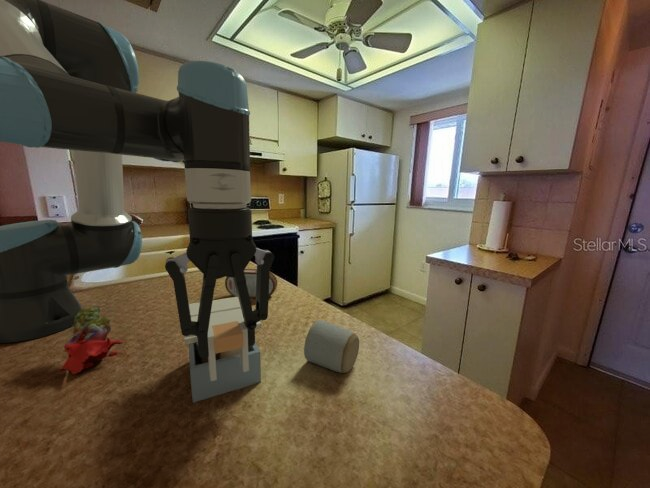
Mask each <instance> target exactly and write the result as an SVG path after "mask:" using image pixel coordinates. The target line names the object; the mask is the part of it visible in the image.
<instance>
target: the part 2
mask: <svg viewBox="0 0 650 488" xmlns="http://www.w3.org/2000/svg"><path fill="white" fill-rule="evenodd" d="M239 354H240V351H239V348H237V349H233V350H229V351H225V352H221V354H220V359H223V358H227V357H231V356H235V355H239Z"/></svg>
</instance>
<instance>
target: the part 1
mask: <svg viewBox="0 0 650 488" xmlns="http://www.w3.org/2000/svg"><path fill="white" fill-rule="evenodd" d="M220 354H221V352H220V353H216V354H215V359H216V360H219V359H220ZM197 355H198V364H203V363H207V362H208V357H204V358H201V357H200V356H199V349H198V343H197Z"/></svg>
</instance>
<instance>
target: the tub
mask: <svg viewBox="0 0 650 488" xmlns="http://www.w3.org/2000/svg"><path fill="white" fill-rule="evenodd" d="M197 343H198V342H195V343H190V344H188V353H189V355H188V356H189V375H190V383H191V384H190V385H191V386H190V387H191V397H192V403H193V404H194V403H197V402H201V401H203V400H208V399H210V398H213V397H217V396H220V395H223V394H226V393H229V392H233V391H236V390H240V389H242V388H246V387H250V386H252V385H256V384H259V383H261V382H262V368H261V366H262V365H261V363H262V362H261V351H260V348H259V346H258V344H257V342H256V341H255V344H254V346H249V347H248V359H249V371H246V372H243V369H242V366H241V363H240V354H239V355H235V356H231V357H227V358H223V359H219V360H216V376H217V380H214V381H211V380H210V373H209V363H208V362H207V363H203V364H198V355H197Z"/></svg>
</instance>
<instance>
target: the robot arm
mask: <svg viewBox="0 0 650 488" xmlns="http://www.w3.org/2000/svg"><path fill="white" fill-rule="evenodd" d="M177 72H178V75H177V85H176V91H177V93H178V96H177V97H175V98H173V99H169V100H166V99H161V98H157V97H153V96H149V95H145V94H142V93H137V92H138V90H139V86H138V85H139V84H140V71H139V64H138V60H137V57H136V53H135V50H134V48H133V47H132V45H131V43H130V41H129V40H128V38H127V37H126V36H125V35H123V34H122V33H121V32H120V31H118V30H115V29H113V28H111V27H109V26H106V25H105V24H103V23H102V22H100V21H95V20H93V19H90V18H88V17H85V16H82V15H80V14H78V13H75V12H72V11H69V10H67V9H64V8H61V7H59V6H57V5H53V4H51V3H49V2H46V1H43V0H0V142H1V143H8V144H15V145H21V146H23V147H26V148H35V149H37V148H38V149H39V148H46V149H58V150H70V151H72V152H73V162H74V173H75V185H76V195H77V203H78V204H77V205H78V210H77V211H76V212H74V213H72V215H71V216H70V220H71V221H70V224H67V225H60V223H59V222H58V221H57V220H55V219H41V220H31V221H25V222H24V221H23V222H16V223H11V224H4V225H0V344H10V343H19V342H24V341H30V340H34V339H38V338H41V337H42V338H43V337H46V336H49V335H52V334H55V333H58V332H61V331H63V330H65V329H68V328H69V327H72V326H74V321H75V319H74V317H75V316H76V315H77V313H78V312H79V311H80V310H81V309H83V306H82V304H81V303H80V301H79V300H78V299H77V297H76V296H75V293H73V291H72V290H71V288H70V287H69V281H68V276H71V275H77V274H78V275H79V274H82V273H88V272H89V273H90V272H95V271H100V270H102V271H103V270H107V269H112V268H114V269H117V268H120V267H123V266H127V265H132V264H134V263H135V262H136V261H137V260H138V258H140V255H141V252H142V249H143V237H142V230H141V227H140V225H139V224H138V223H137V222H136V221H133V219H132V217H133V216H131V214H129V213H128V212H127V211H125V200H124V199H125V196H124V195H125V194H124V193H125V192H124V173H123V170H124V169H123V167H124V166H123V156H133V157H142V158H151V159H154V160H158V161H162V162H172V163H180V162H181V163H182V161H184V162H183V164H184V177H185V190H186V191H185V192H186V201H187V202H188V203H189V204H192V205H191V207H189V209H188V210H187V216H188V217H187V220H188V230H189V231H188V232H189V244H188V245H187V248H186V249H185V250H186V251H185V252H183V254H179V255H178V256H176V257H174V256H173V257H172V256H171V257H167V259H166V260H165V264H164V265H165V266H164V268H165V271H166V272H167V273H168V275H169V277H170V278H171V279H172V283H173V288H174V292H175V293H174V294H175V301H176V306H177V313H178V319H179V326H180V331H181V335H182V336H189V335H195V336H197V338H198V349H199V356H200V357H201V358H204V357H208V363H209V373H210V380H211V381H214V380H217V376H216V359H215V346H214V334H213V329H212V327H209V321H210V315H211V308H212V301H213V300H214V293H215V288H216V283H217V280H219V279H222V278H226V277H233V279H234V282H235V286H236V290H237V294H238V298H239V302H240V306H241V310H242V314H243V318H244V321H240V322H238V323H239V326H240V328H241V330H242V332H243V346H244V347H241V348H239V351H240V363H241V366H242V369H243V372H246V371H249V359H248V347H249V346H254V344H255V342H256V329H255V328H256V326H257V324H256V323H257V322H259V321H260V322H261V321H265V320H267V319H268V317H269V298H270V296H269V276H270V272H271V268H272V265H273V264H274V263H273V262H274V260H275V254H274V253H272V252H271V251H270V250H268V249H260V248H259V247H257V246H256V243H255V242H254V239H253V223H252V222H253V221H252V220H253V219H252V217H253V216H252V214H253V213H252V209H250V207H248V206H247V204H250V203H251V201H252V193H251V192H252V191H251V173H250V172H251V155H250V154H251V146H250V142H251V141H250V139H251V138H250V115H251V112H250V108H249V97H248V96H249V95H248V87H247V83H246V80H245V78H244V77H243V75H242V74H240V72H238V71H237V70H235V69H234V68H232V67H229V66H227V65H224V64H221V63H219V62H215V61H214V62H213V61H208V60H191V61H187V62H185V63H182V64H181V65H180V66H179V69H178V71H177ZM253 257H255V259H254V261H255V263H256V264H257V265H256V269H257V278H256V298H255V307H254V308H255V309H253V306H252V301H251V298H250V297H249V293H248V289H247V285H246V278H245V274H244V269H247V268H246V267H247V266H248V265H249V263H250V262H251V260H252V259H253ZM189 262H191V263H192V264H193V265H194V266H195V268H197V269H198V270H199V272H201V273H202V274H203V276H202V285H201V293H200V298H199V300H200V301H199V302H200V306H199V313H198V320H197V322H195V321H191V315H190V309H189V304H190V302H189V298H188V297H189V296H188V289H187V283H186V277H185V276H186V275H185V273H187V272H188V269H189V268H188V263H189ZM252 309H253V310H254V311H253V310H252Z"/></svg>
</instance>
